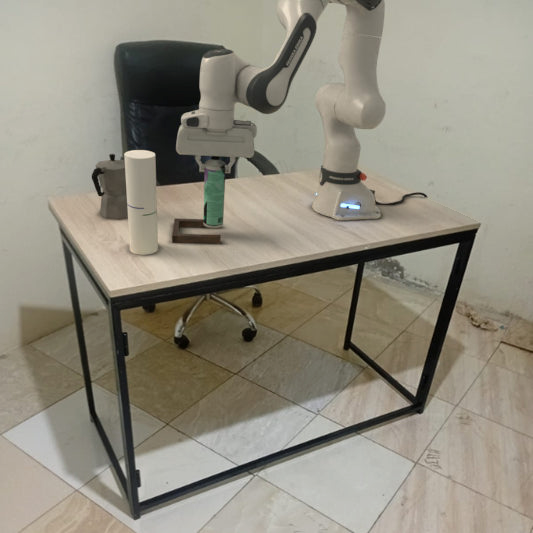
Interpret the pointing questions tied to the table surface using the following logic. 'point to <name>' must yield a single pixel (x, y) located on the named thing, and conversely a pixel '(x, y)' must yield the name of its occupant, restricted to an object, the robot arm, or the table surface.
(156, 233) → the cylindrical container
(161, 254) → the table surface
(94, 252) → the table surface
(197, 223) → the frame
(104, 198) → the coffeepot
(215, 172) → the spray can
